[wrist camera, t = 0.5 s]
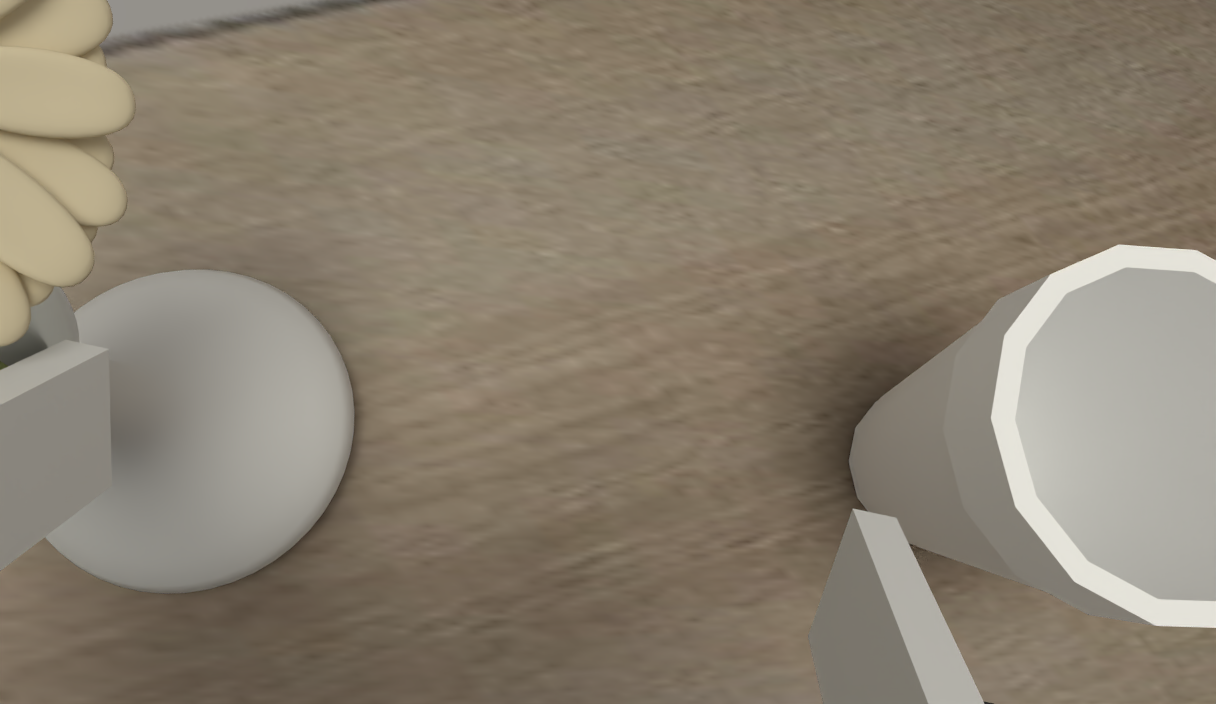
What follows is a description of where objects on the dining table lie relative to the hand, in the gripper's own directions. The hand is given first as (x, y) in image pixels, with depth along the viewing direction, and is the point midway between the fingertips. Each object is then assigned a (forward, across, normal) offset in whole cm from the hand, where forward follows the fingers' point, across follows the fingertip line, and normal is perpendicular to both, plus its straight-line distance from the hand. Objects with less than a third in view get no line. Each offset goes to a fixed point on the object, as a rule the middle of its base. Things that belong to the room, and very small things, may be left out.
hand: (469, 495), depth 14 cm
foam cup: (+18, -15, +5) cm, 24 cm away
